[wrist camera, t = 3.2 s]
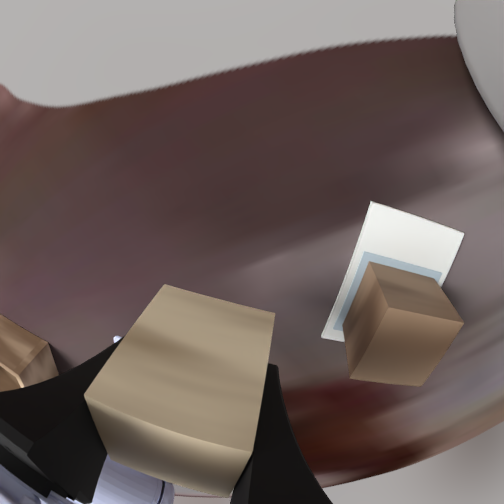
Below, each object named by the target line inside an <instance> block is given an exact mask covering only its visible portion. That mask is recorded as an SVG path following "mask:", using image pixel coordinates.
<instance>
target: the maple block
mask: <svg viewBox="0 0 504 504" xmlns="http://www.w3.org/2000/svg"><path fill="white" fill-rule="evenodd" d="M274 318H275V313H272V312H267V311H263V310H259V309H255V308H251V307H247V306H243V305H239V304H235V303H231V302H227V301H224V300H220V299H216V298H212V297H208V296H205V295H201V294H197V293H194V292H190V291H186V290H183V289H179V288H176V287H172V286H169V285H165V284H164V285H163V287H162V288H161V289H160V291H159V292H158V293H157V294H156V296H155V297H154V298H153V300H152V301H151V302H150V304H149V305H148V306H147V308H146V309H145V310H144V312H143V313H142V314H141V316H140V317H139V318H138V320H137V321H136V322H135V324H134V325H133V326H132V328H131V329H130V330H129V332H128V333H127V334H126V336H125V337H124V338H123V340H122V341H121V343H120V344H119V345H118V347H117V348H116V349H115V351H114V352H113V354H112V355H111V356H110V358H109V359H108V361H107V362H106V363H105V365H104V366H103V368H102V369H101V371H100V372H99V373H98V375H97V376H96V378H95V379H94V381H93V382H92V383H91V385H90V386H89V388H88V389H87V391H86V392H85V394H84V397H85V400H86V402H87V405H88V408H89V410H90V413H91V416H92V418H93V421H94V423H95V425H96V428H97V430H98V433H99V435H100V437H101V440H102V442H103V444H104V446H105V448H106V451H107V453H108V455H109V457H110V459H111V460H113V461H115V462H117V463H120V464H122V465H124V466H127V467H129V468H131V469H134V470H136V471H139V472H141V473H144V474H147V475H149V476H152V477H155V478H158V479H161V480H164V481H167V482H170V483H173V484H176V485H179V486H182V487H186V488H189V489H193V490H196V491H200V492H204V493H208V494H212V495H216V496H220V497H225V498H228V497H229V495H230V493H231V492H232V490H233V488H234V486H235V484H236V483H237V481H238V479H239V477H240V475H241V473H242V471H243V470H244V468H245V466H246V464H247V462H248V460H249V458H250V456H251V454H252V452H253V447H254V441H255V436H256V430H257V424H258V419H259V413H260V407H261V401H262V395H263V389H264V383H265V377H266V371H267V364H268V358H269V352H270V345H271V338H272V332H273V325H274Z"/></svg>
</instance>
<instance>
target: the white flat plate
mask: <svg viewBox="0 0 504 504" xmlns="http://www.w3.org/2000/svg"><path fill="white" fill-rule="evenodd" d="M463 236H464V233H463V232H461V231H458V230H456V229H453V228H450V227H448V226H445V225H442V224H439V223H437V222H434V221H431V220H428V219H425V218H422V217H419V216H417V215H414V214H411V213H408V212H405V211H402V210H398V209H395V208H392V207H389V206H386V205H383V204H379V203H376V202H373V201H371V202H370V205H369V209H368V212H367V215H366V218H365V221H364V224H363V227H362V230H361V233H360V236H359V239H358V242H357V245H356V248H355V250H354V253H353V256H352V259H351V262H350V264H349V267H348V270H347V273H346V275H345V278H344V280H343V283H342V286H341V288H340V291H339V293H338V296H337V298H336V301H335V303H334V306H333V308H332V311H331V313H330V316H329V318H328V321H327V323H326V325H325V328H324V330H323V332H322V335H321V337H322V338H326V339H331V340H336V341H341V342H345V340H344V334H343V327H342V324H343V322H344V320H345V318H346V315H347V313H348V311H349V309H350V306H351V304H352V302H353V299H354V297H355V295H356V292H357V290H358V287H359V285H360V282H361V280H362V278H363V275H364V272H365V270H366V267H367V265H368V262H369V261H371V262H375V263H379V264H382V265H386V266H390V267H394V268H397V269H401V270H405V271H409V272H412V273H416V274H420V275H424V276H427V277H431V278H434V279H435V281H436V282H437V283H438V285H439V286H440V288H441V286H442V284H443V282H444V280H445V278H446V276H447V274H448V272H449V269H450V267H451V265H452V263H453V260H454V258H455V256H456V253H457V251H458V249H459V246H460V244H461V241H462V239H463Z"/></svg>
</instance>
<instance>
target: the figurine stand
mask: <svg viewBox="0 0 504 504" xmlns="http://www.w3.org/2000/svg"><path fill="white" fill-rule="evenodd" d="M58 375H59V373H58V371H57V368H56V365H55V362H54V359H53V356H52V353H51V350H50V347H49V344H48V342H46V341H44V340H43V339H41V338H39V337H37V336H35V335H34V334H32V333H30V332H29V331H27V330H25V329H23V328H22V327H20V326H18V325H17V324H15V323H14V322H12V321H10V320H9V319H7V318H6V317H4V316H3V315H1V314H0V392H2V391H8V390H14V389H19V388H23V387H26V386H30V385H34V384H37V383H40V382H43V381H46V380H48V379H51V378H53V377H56V376H58Z"/></svg>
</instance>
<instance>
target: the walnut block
mask: <svg viewBox="0 0 504 504" xmlns="http://www.w3.org/2000/svg"><path fill="white" fill-rule="evenodd" d="M463 324H464V322H463V320H462V319H461V317H460V316H459V314H458V313H457V311H456V310H455V308H454V307H453V305H452V304H451V302H450V301H449V299H448V298H447V296H446V295H445V293H444V292H443V290H442V289H441V288H440V286H439V285H438V283H437V282H436V281H435V279H434V278H431V277H427V276H424V275H420V274H416V273H412V272H409V271H405V270H401V269H397V268H394V267H390V266H386V265H382V264H379V263H375V262H371V261H369V262H368V265H367V267H366V270H365V272H364V275H363V278H362V280H361V282H360V285H359V287H358V290H357V292H356V295H355V297H354V299H353V302H352V304H351V306H350V309H349V311H348V313H347V315H346V318H345V320H344V322H343V324H342V327H343V334H344V340H345V347H346V354H347V361H348V369H349V377H350V379H357V380H364V381H372V382H380V383H388V384H397V385H408V386H419V387H421V386H422V385H423V383H424V382H425V381H426V379H427V378H428V377H429V375H430V374H431V373H432V371H433V370H434V368H435V367H436V366H437V364H438V363H439V361H440V360H441V358H442V357H443V355H444V354H445V352H446V351H447V349H448V348H449V346H450V345H451V343H452V342H453V340H454V339H455V337H456V335H457V334H458V332H459V330H460V329H461V327H462V325H463Z"/></svg>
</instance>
